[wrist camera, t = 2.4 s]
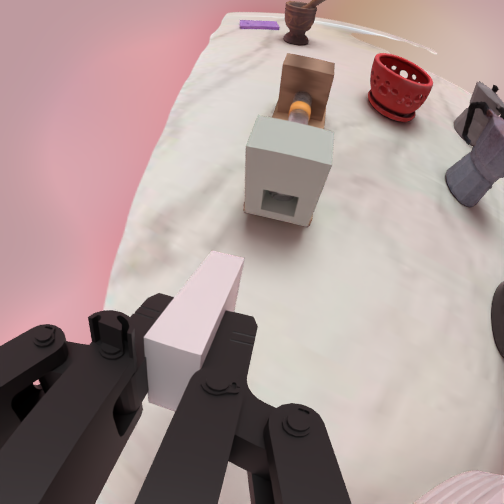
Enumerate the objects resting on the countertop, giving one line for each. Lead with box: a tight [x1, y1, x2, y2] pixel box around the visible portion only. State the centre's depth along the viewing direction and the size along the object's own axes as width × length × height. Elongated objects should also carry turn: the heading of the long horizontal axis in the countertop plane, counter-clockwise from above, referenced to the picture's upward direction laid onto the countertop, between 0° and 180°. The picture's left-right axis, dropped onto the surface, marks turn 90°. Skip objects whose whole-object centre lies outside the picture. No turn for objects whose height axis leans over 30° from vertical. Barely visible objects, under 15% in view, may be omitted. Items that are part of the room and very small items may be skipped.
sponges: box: [240, 20, 279, 30], centre depth 68 cm, size 7×13×2 cm, turn 92°
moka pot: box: [446, 101, 504, 207], centre depth 33 cm, size 10×15×20 cm, turn 39°
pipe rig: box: [244, 53, 335, 226], centre depth 37 cm, size 9×26×12 cm, turn 166°
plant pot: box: [368, 53, 433, 122], centre depth 45 cm, size 13×13×12 cm
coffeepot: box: [454, 81, 504, 146], centre depth 42 cm, size 15×9×18 cm, turn 171°
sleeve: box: [245, 115, 334, 227], centre depth 30 cm, size 8×5×12 cm, turn 76°
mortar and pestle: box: [284, 0, 325, 45], centre depth 54 cm, size 12×9×20 cm
